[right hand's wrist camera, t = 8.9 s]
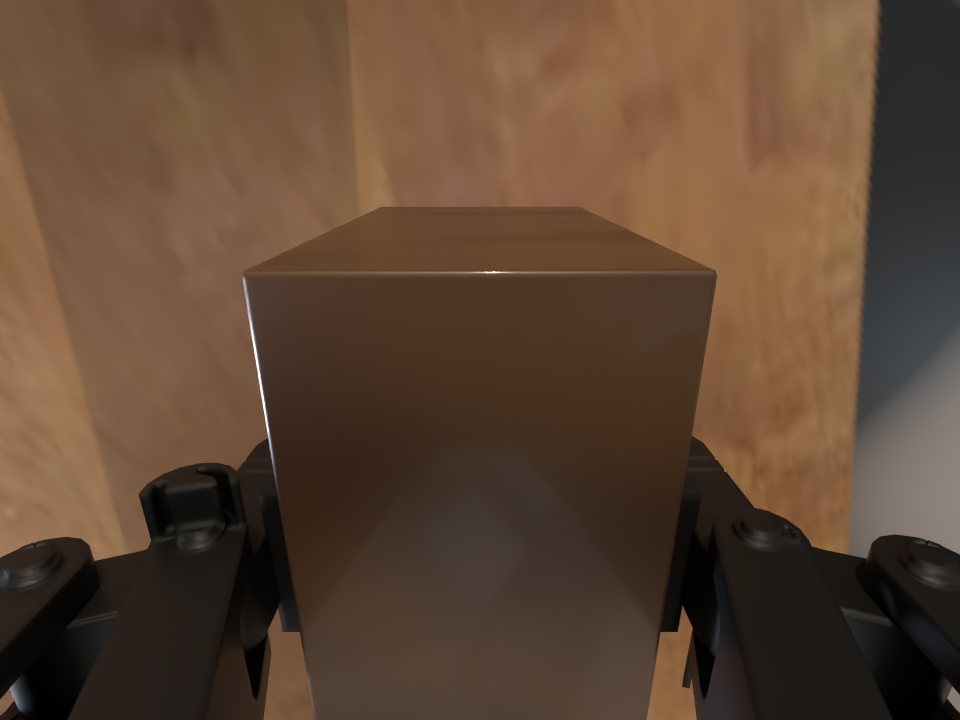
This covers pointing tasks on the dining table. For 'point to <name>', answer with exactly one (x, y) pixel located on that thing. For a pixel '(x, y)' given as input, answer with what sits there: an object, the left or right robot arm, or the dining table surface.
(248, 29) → the dining table surface
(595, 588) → the bar
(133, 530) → the dining table surface
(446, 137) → the dining table surface
